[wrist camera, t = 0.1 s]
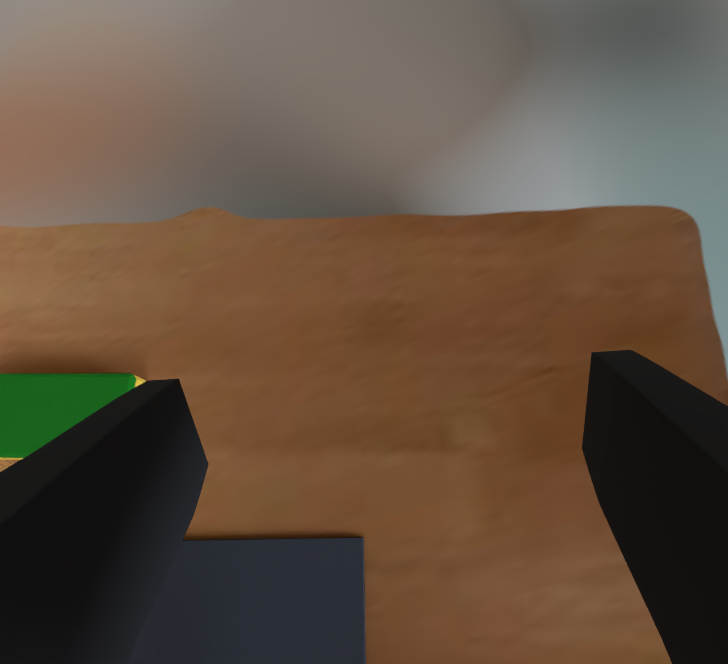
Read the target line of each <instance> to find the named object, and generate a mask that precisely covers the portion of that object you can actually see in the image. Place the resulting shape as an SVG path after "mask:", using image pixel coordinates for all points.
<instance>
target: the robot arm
mask: <svg viewBox="0 0 728 664" xmlns="http://www.w3.org/2000/svg"><path fill="white" fill-rule="evenodd" d="M582 450H583V453H584V456H585V460H586V463H587V466H588V470H589V473H590V476H591V480H592V483H593V486H594V489H595V492H596V495H597V498H598V501H599V504H600V506H601V508H602V510H603V513H604V515H605V517H606V519H607V521H608V524H609V526H610V528H611V530H612V532H613V535H614V537H615V539H616V541H617V543H618V546H619V548H620V550H621V552H622V554H623V556H624V558H625V561H626V563H627V565H628V567H629V569H630V571H631V573H632V576H633V578H634V580H635V582H636V584H637V586H638V589H639V591H640V593H641V595H642V597H643V599H644V601H645V604H646V606H647V608H648V610H649V612H650V614H651V616H652V619H653V621H654V623H655V625H656V627H657V629H658V631H659V634H660V636H661V638H662V640H663V643H664V645H665V648H666V650H667V652H668V655H669V657H670V660H671V662H672V664H728V406H726V405H725V404H723V403H721V402H720V401H718V400H716V399H715V398H713V397H711V396H709V395H708V394H706V393H704V392H703V391H701V390H699V389H698V388H696V387H694V386H693V385H691V384H689V383H688V382H686V381H684V380H683V379H681V378H679V377H678V376H676V375H674V374H673V373H671V372H669V371H668V370H666V369H664V368H663V367H661V366H659V365H658V364H656V363H654V362H652V361H651V360H649V359H647V358H645V357H644V356H642V355H640V354H638V353H636V352H634V351H632V350H622V351H606V352H592V355H591V365H590V374H589V384H588V394H587V404H586V414H585V424H584V434H583V444H582ZM207 467H208V462H207V459H206V456H205V453H204V450H203V447H202V444H201V441H200V439H199V436H198V433H197V430H196V427H195V424H194V421H193V418H192V416H191V413H190V410H189V407H188V404H187V401H186V398H185V395H184V392H183V390H182V387H181V384H180V381H179V379H168V380H152V381H146V382H144V383H142V384H140V385H138V386H136V387H135V388H133V389H131V390H129V391H128V392H126V393H124V394H123V395H121V396H119V397H118V398H116V399H115V400H113V401H111V402H110V403H108V404H107V405H105V406H103V407H102V408H100V409H99V410H97V411H96V412H94V413H93V414H91V415H90V416H88V417H87V418H85V419H83V420H82V421H80V422H79V423H77V424H76V425H74V426H73V427H71V428H70V429H68V430H67V431H65V432H64V433H62V434H60V435H59V436H57V437H56V438H54V439H53V440H51V441H50V442H48V443H47V444H45V445H44V446H42V447H41V448H39V449H37V450H36V451H34V452H33V453H31V454H29V455H28V456H26V457H25V458H23V459H21V460H20V461H18V462H16V463H15V464H13V465H12V466H10V467H8V468H7V469H5V470H3V471H2V472H0V664H128V662H129V660H130V657H131V655H132V653H133V650H134V648H135V645H136V643H137V640H138V638H139V635H140V633H141V631H142V629H143V627H144V624H145V622H146V620H147V618H148V616H149V613H150V611H151V609H152V607H153V605H154V602H155V600H156V598H157V596H158V594H159V591H160V589H161V587H162V585H163V583H164V580H165V578H166V576H167V574H168V572H169V569H170V567H171V565H172V563H173V561H174V558H175V556H176V554H177V552H178V549H179V547H180V545H181V543H182V540H183V538H184V536H185V534H186V531H187V529H188V527H189V524H190V522H191V520H192V517H193V515H194V512H195V509H196V506H197V502H198V499H199V496H200V493H201V489H202V486H203V482H204V478H205V475H206V471H207Z"/></svg>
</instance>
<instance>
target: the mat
mask: <svg viewBox="0 0 728 664" xmlns="http://www.w3.org/2000/svg"><path fill="white" fill-rule="evenodd" d="M128 664H366V651H365V590H364V538H363V537H358V538H296V539H235V540H182V543H181V545H180V547H179V549H178V552H177V554H176V556H175V558H174V561H173V563H172V565H171V567H170V569H169V572H168V574H167V576H166V578H165V580H164V583H163V585H162V587H161V589H160V591H159V594H158V596H157V598H156V600H155V602H154V605H153V607H152V609H151V611H150V613H149V616H148V618H147V620H146V622H145V624H144V627H143V629H142V631H141V633H140V635H139V638H138V640H137V643H136V645H135V648H134V650H133V653H132V655H131V657H130V660H129V662H128Z"/></svg>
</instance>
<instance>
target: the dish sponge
mask: <svg viewBox="0 0 728 664" xmlns="http://www.w3.org/2000/svg"><path fill="white" fill-rule="evenodd" d="M144 382H146V381H145V380H144V379H142V378H139V377H137V376H135V375H133V374H131V373H94V374H0V460H21V459H23V458H25V457H26V456H28V455H29V454H31V453H33V452H34V451H36V450H37V449H39V448H41V447H42V446H44V445H45V444H47V443H48V442H50V441H51V440H53V439H54V438H56V437H57V436H59V435H60V434H62V433H64V432H65V431H67V430H68V429H70V428H71V427H73V426H74V425H76V424H77V423H79V422H80V421H82V420H83V419H85V418H87V417H88V416H90V415H91V414H93V413H94V412H96V411H97V410H99V409H100V408H102V407H103V406H105V405H107V404H108V403H110V402H111V401H113V400H115V399H116V398H118V397H119V396H121V395H123V394H124V393H126V392H128V391H129V390H131V389H133V388H135V387H136V386H138V385H140V384H142V383H144Z"/></svg>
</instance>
